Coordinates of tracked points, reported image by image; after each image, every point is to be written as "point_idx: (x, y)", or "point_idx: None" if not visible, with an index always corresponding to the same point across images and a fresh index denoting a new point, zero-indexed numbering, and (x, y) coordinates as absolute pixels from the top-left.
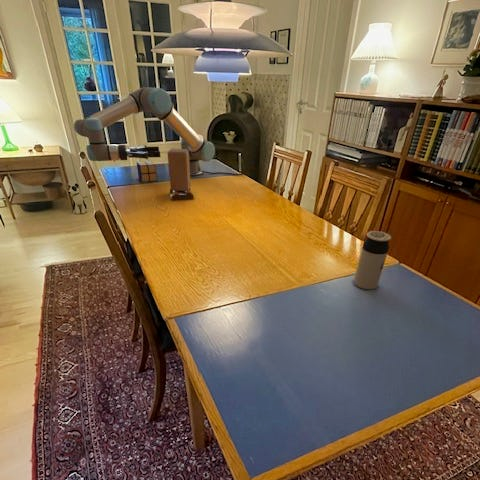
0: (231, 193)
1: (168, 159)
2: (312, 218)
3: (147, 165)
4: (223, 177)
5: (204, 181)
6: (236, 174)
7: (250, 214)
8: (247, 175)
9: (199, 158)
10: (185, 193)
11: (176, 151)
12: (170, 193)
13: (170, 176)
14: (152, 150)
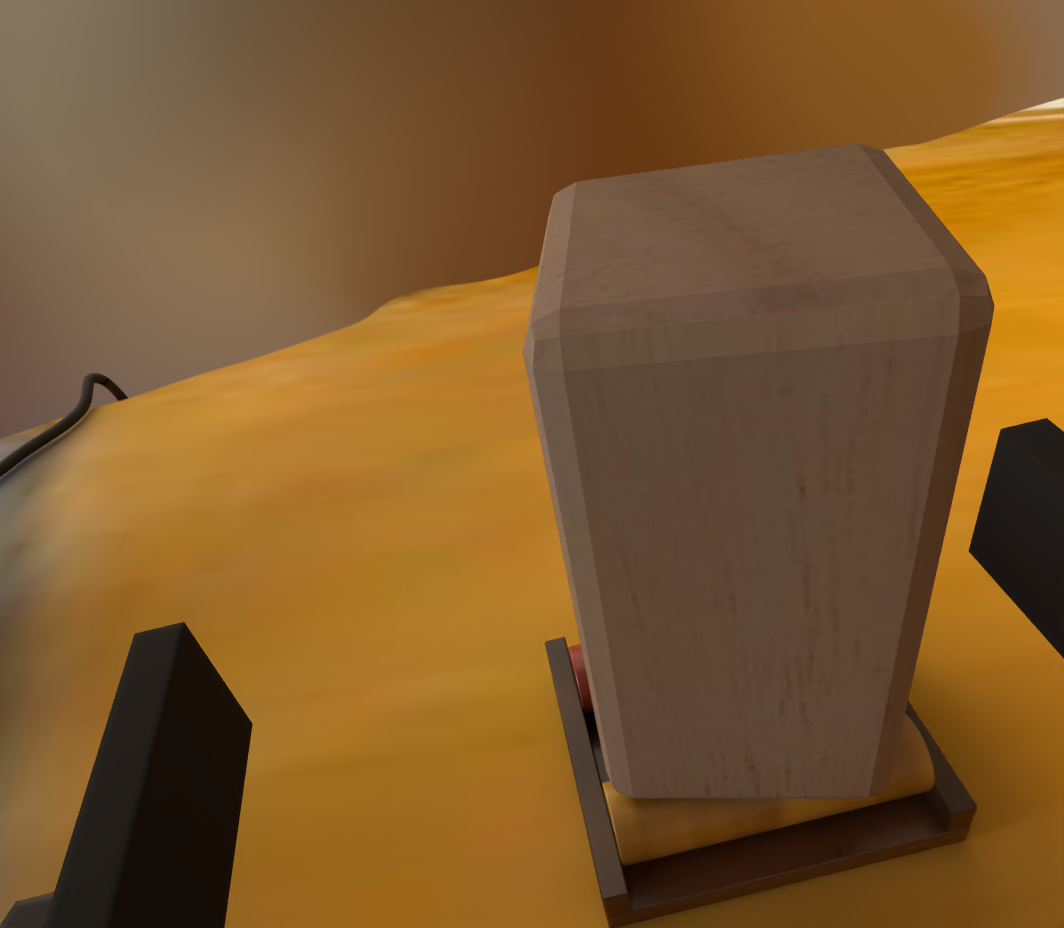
0: None
1: (965, 431)
2: (946, 145)
3: None
4: (81, 492)
5: (149, 606)
6: (70, 421)
7: (1036, 277)
8: (103, 382)
9: None
10: None
11: (879, 201)
12: (719, 889)
13: (916, 656)
14: (196, 921)
